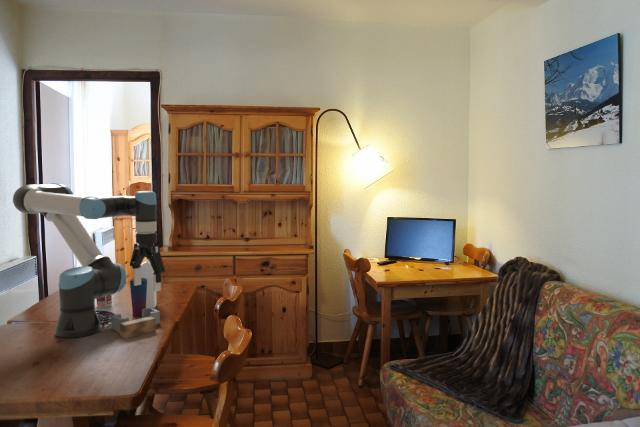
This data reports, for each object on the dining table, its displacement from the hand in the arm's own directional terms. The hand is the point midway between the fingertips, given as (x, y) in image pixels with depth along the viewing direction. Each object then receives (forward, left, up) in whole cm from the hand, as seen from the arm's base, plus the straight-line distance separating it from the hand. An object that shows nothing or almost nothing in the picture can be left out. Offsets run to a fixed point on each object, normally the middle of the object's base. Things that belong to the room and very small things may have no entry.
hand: (147, 288), depth 188 cm
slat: (-5, -3, -16) cm, 17 cm away
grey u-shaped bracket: (-8, +6, -16) cm, 18 cm away
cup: (+6, +19, -16) cm, 25 cm away
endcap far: (+4, +6, -16) cm, 17 cm away
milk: (+15, +28, -16) cm, 35 cm away
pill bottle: (+2, +43, -16) cm, 45 cm away
